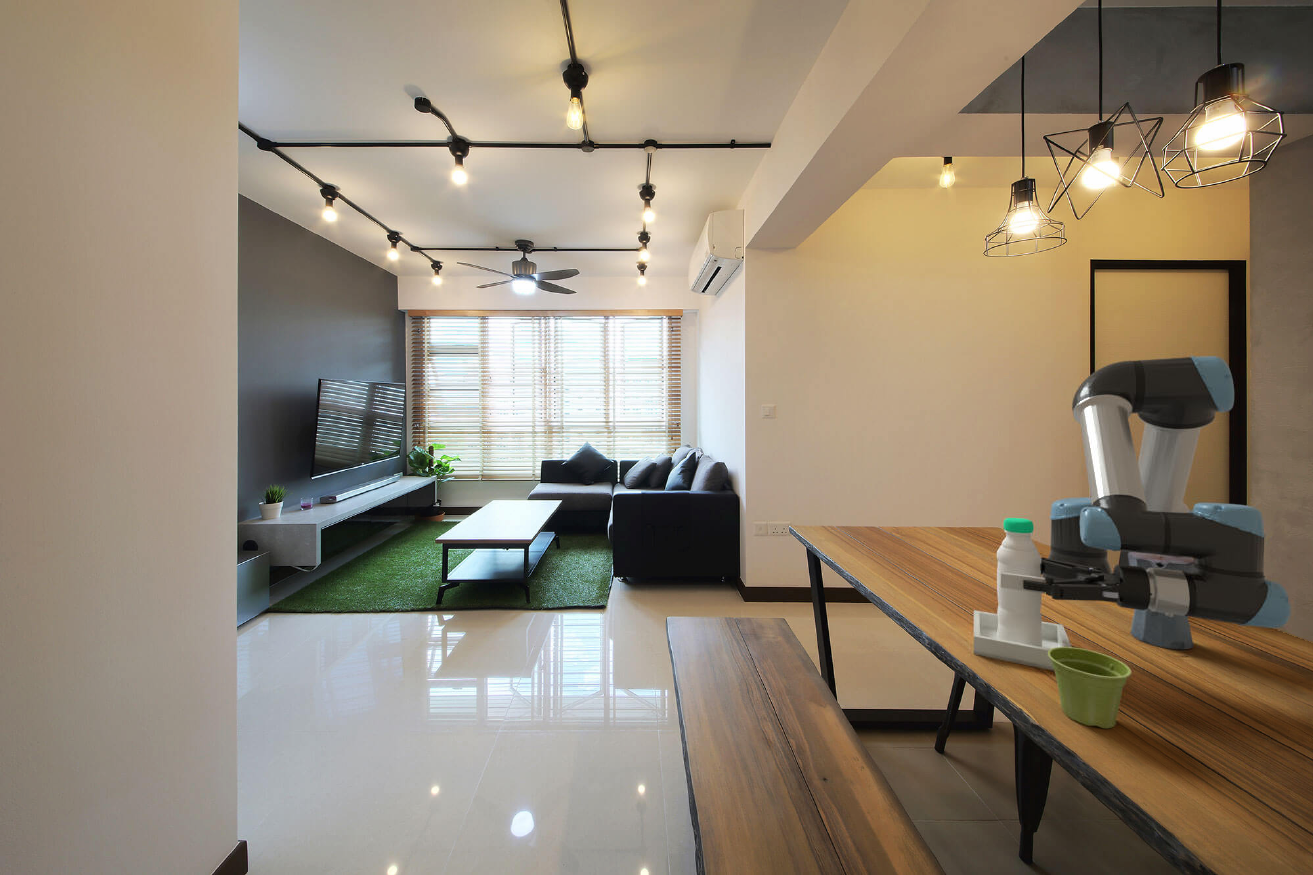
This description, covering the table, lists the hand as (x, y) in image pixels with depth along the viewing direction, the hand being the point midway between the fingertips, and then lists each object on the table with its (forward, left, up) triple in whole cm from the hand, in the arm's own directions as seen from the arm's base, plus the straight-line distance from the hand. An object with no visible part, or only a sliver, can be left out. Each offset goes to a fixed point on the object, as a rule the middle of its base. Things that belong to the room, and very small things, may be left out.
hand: (998, 570), depth 97 cm
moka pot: (-19, +27, -15) cm, 37 cm away
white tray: (0, +3, -15) cm, 15 cm away
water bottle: (0, +3, -15) cm, 15 cm away
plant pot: (+22, +10, -15) cm, 29 cm away
